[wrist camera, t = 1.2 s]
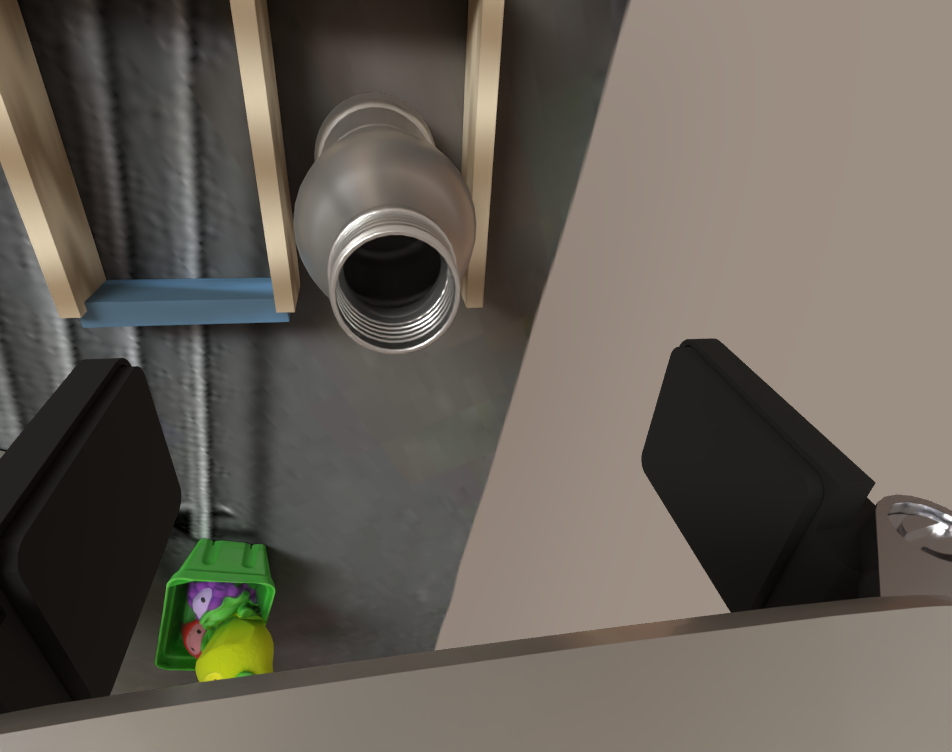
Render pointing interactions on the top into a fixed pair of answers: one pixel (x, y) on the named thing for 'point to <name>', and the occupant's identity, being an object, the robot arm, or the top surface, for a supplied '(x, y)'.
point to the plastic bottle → (385, 224)
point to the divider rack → (256, 299)
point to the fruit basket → (218, 613)
